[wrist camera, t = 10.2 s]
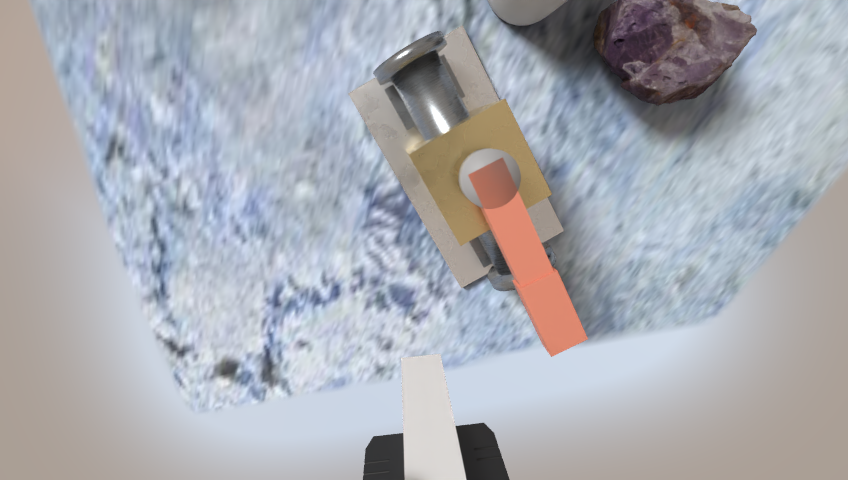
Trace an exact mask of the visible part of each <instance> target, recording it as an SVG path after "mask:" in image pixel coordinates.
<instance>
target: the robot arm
mask: <svg viewBox="0 0 848 480" xmlns="http://www.w3.org/2000/svg"><path fill="white" fill-rule="evenodd" d="M401 367H402V399H403V400H402V402H403V433H401V434H391V435H383V436H374V437H373V438H372V440H371V441H370V443H369V445H368V446H367V448H366V453H365V465H364V476H363V480H509V477H508V474H507V471H506V468H505V465H504V462H503V459H502V456H501V453H500V450H499V448H498V444H497V441H496V438H495V435H494V433H493V432H492V431H491V430H490V429H489V428H488V427H487V426H486V425H485V424H484V423H479V424H471V425H461V426H455V422H454V418H453V412H452V408H451V403H450V398H449V393H448V388H447V384H446V379H445V374H444V369H443V364H442V359H441V355H440V354H435V355H425V356H416V357H406V358H401Z"/></svg>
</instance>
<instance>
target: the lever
mask: <svg viewBox="0 0 848 480" xmlns="http://www.w3.org/2000/svg"><path fill="white" fill-rule="evenodd" d="M458 182H459V186H460V189H461V191H462V193H463V194H464V195H465V196H466V197H467V198H468V199H469V200H470V201H471V202H472V203H474V204H475V205H477V206H479V207H480V208H481V210H482V212H483V214H484V216H485V218H486V221H487V223H488V225H489V227H490V229H491V231H492V233H493V235H494V237H495V239H496V242H497V244H498V246H499V248H500V250H501V252H502V254H503V256H504V258H505V260H506V263H507V265H508V267H509V269H510V271H511V273H512V275H513V277H514V280H512V281H513V283H514V286H515V288H516V290H517V292H518V294H519V296H520V298H521V300H522V302H523V304H524V306H525V309H526V311H527V313H528V315H529V317H530V319H531V321H532V323H533V325H534V327H535V329H536V332H537V334H538V336H539V338H540V340H541V342H542V344H543V346H544V347H545V348H546V350H547V351H548V353H549V354H550V355H551V357H552V356H554V355H556V354H558V353H560V352H562V351H564V350H566V349H569V348H570V347H573V346H575V345H577V344H579V343H581V342H583V341H585V340H587V339H588V338H587V336H586V333H585V331H584V329H583V327H582V324H581V322H580V320H579V318H578V316H577V313H576V311H575V309H574V307H573V304H572V302H571V300H570V298H569V295H568V293H567V291H566V289H565V286H564V284H563V282H562V280H561V277H560V275H559V273H558V271H557V270H556V269H555V268H554V267H552V266H551V263H550V261H549V259H548V257H547V254H546V252H545V250H544V248H543V245H542V243H541V241H540V239H539V237H538V234H537V232H536V230H535V228H534V225H533V223H532V221H531V219H530V216H529V214H528V212H527V210H526V208H525V205H524V203H523V201H522V199H521V196H520V194H519V192H518V189H519V186H520V182H521V173H520V169H519V166H518V164H517V162H516V161H515V159H514V158H513V157H512V156H511V155H509V154H508V153H506V152H504V151H502V150H498V149H490V148H484V149H479V150H476V151H474V152H472V153H471V154H469V155H468V156H467V157H466V158H465V159H464V161H463V162H462V164H461V166H460V169H459V174H458Z"/></svg>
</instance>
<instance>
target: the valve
mask: <svg viewBox="0 0 848 480" xmlns="http://www.w3.org/2000/svg"><path fill="white" fill-rule="evenodd" d="M373 74H374V75H375V78H373V79H372V80H370V81H368V82H367V83H365V84H363V85H362V86H360V87H358V88H357V89H355V90H353V91H352V92H350V93H348V94H349V96H350V97H351V99H352V101H353V103H354V104H355V106H356V108H357V110H358V111H359V113H360V115H361V116H362V118H363V120H364V122H365V123H366V125H367V127H368V128H369V130H370V132H371V134H372V135H373V137H374V139H375V140H376V142H377V144H378V146H379V147H380V149H381V151H382V152H383V154H384V156H385V158H386V159H387V161H388V163H389V165H390V166H391V168H392V170H393V171H394V173H395V175H396V177H397V178H398V180H399V182H400V183H401V185H402V187H403V189H404V190H405V192H406V194H407V195H408V197H409V199H410V201H411V202H412V204H413V206H414V207H415V209H416V211H417V213H418V214H419V216H420V218H421V220H422V221H423V223H424V225H425V226H426V228H427V230H428V232H429V233H430V235H431V237H432V238H433V240H434V242H435V244H436V245H437V247H438V249H439V250H440V252H441V254H442V256H443V257H444V259H445V261H446V262H447V264H448V266H449V268H450V269H451V271H452V273H453V275H454V276H455V278H456V280H457V281H458V283H459V285H460V287H461V288H463V287H464V286H466V285H468V284H470V283H472V282H473V281H475V280H477V279H479V278H481V277H482V276H484V275H486V274H488V275H487V276H488V279H489V281H490V282H491V284H492V286H493V288H494V289H496V290H499V291H509V290H514V289H516V288H515V286H514V283H513V281H512V280H514V277H513V275H512V273H511V271H510V269H509V267H508V265H507V263H506V260H505V258H504V256H503V254H502V252H501V250H500V248H499V246H498V244H497V242H496V239H495V237H494V235H493V233H492V231H491V229H490V227H489V225H488V223H487V221H486V218H485V216H484V214H483V212H482V210H481V208H480V207H479V206H477V205H475V204H474V203H472V202H471V201H470V200H469V199H468V198H467V197H466V196H465V195H464V194H463V193H462V191H461V189H460V186H459V182H458V174H459V169H460V166H461V164H462V162H463V161H464V159H465V158H466V157H467V156H468V155H469V154H471V153H472V152H474V151H476V150H479V149H484V148H490V149H498V150H502V151H504V152H506V153H508V154H509V155H511V156H512V157H513V158H514V159H515V161H516V162H517V164H518V166H519V169H520V173H521V182H520V186H519V189H518V192H519V194H520V196H521V199H522V201H523V203H524V205H525V208H526V210H527V212H528V214H529V216H530V219H531V221H532V223H533V225H534V228H535V230H536V232H537V234H538V237H539V239H540V241H541V243H542V245H543V248H544V250H545V252H546V254H547V257H548V259H549V261H550V263H551V266H552V267H553V265H554V264H555V261H556V256H555V254H554V252H553V250H552V248H551V246H550V245H549V244H546V243H543V242H545V241H547V240H549V239H551V238H552V237H554V236H556V235H558V234H560V233H561V232H563V231H564V230H563V228H562V226H561V224H560V222H559V220H558V218H557V216H556V214H555V211H554V209H553V207H552V205H551V203H550V201H549V199H548V197H549V196H550V195H552V193H551V191H550V189H549V187H548V185H547V183H546V181H545V179H544V177H543V175H542V173H541V171H540V169H539V167H538V165H537V163H536V161H535V159H534V156H533V154H532V152H531V150H530V148H529V146H528V144H527V142H526V140H525V138H524V136H523V134H522V132H521V130H520V128H519V126H518V124H517V122H516V120H515V118H514V116H513V114H512V112H511V110H510V108H509V106H508V103H507V101H506V99H502V100H499V98H498V96H497V94H496V92H495V90H494V88H493V86H492V84H491V82H490V80H489V78H488V76H487V74H486V72H485V70H484V68H483V66H482V64H481V62H480V60H479V58H478V56H477V54H476V52H475V50H474V48H473V46H472V44H471V42H470V40H469V38H468V36H467V34H466V32H465V29H464V27H463V25H462V26H460V27H459V28H457V29H455V30H454V31H452V32H450V33H449V34H447V35H445V36H443V34H442V32H441V31H437V32H434V33H431V34H429V35H427V36H425V37H423V38H421V39H419V40H417V41H415V42H413V43H412V44H410V45H408V46H407V47H405V48H403V49H402V50H400V51H399V52H397V53H396V54H394V55H393V56H391V57H390V58H389V59H387V60H386V61H385V62H383V63H382V64H381V65H380V66H379V67H378V68H377V69H376V70H375V71H374V73H373Z"/></svg>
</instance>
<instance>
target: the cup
mask: <svg viewBox="0 0 848 480" xmlns="http://www.w3.org/2000/svg"><path fill="white" fill-rule="evenodd" d="M566 1H568V0H488V2H489V4H490V6H491V8H492V10H493V11H494V12H495V13H496V14H497V15H498V17H499V18H501V19H503V20H504V21H506V22H507V23H510V24H514V25H517V26H526V25H531V24H534V23H537V22H539V21H541V20H542V19H544V18H545V17H547V16H548V15H550V14H551V13H552V12H554V11H555V10H556V9H557V8H559V7H560V6H561V5H563V4H564V3H565V2H566Z"/></svg>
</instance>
